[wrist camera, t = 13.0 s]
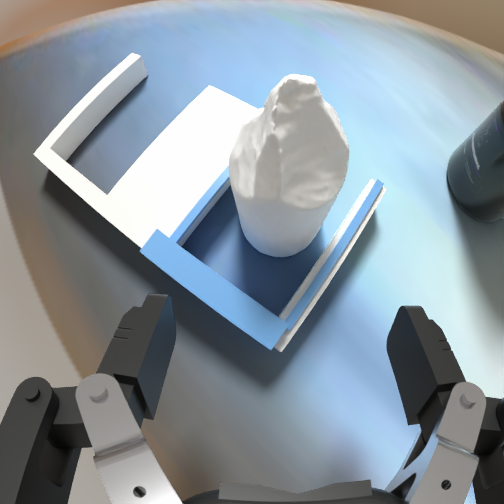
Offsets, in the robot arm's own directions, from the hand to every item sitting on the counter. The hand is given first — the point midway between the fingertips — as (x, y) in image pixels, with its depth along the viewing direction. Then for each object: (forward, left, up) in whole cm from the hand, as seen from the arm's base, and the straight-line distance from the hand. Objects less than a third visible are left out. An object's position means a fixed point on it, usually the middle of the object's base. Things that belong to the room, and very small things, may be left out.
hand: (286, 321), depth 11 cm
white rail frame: (-5, -10, -9) cm, 15 cm away
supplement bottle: (-18, +8, -9) cm, 22 cm away
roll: (-6, -4, -9) cm, 12 cm away
